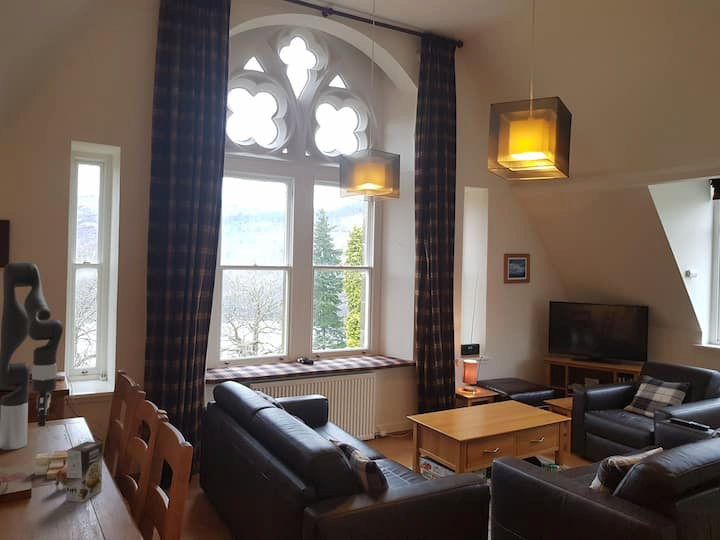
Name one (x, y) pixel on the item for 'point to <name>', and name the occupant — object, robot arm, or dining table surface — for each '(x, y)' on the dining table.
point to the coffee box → (84, 471)
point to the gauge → (46, 462)
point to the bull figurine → (61, 477)
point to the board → (56, 464)
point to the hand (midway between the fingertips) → (43, 422)
